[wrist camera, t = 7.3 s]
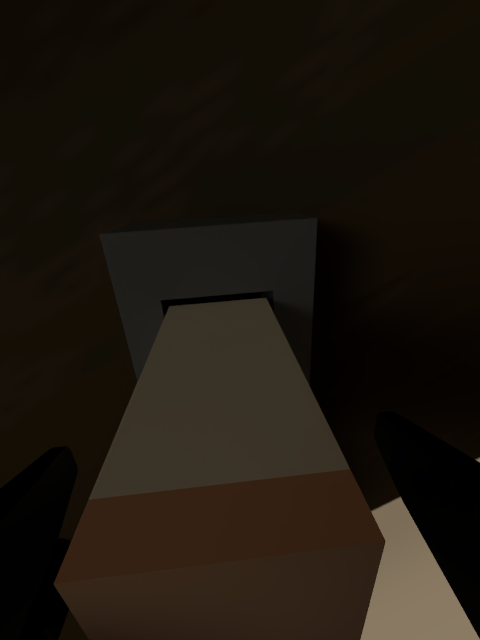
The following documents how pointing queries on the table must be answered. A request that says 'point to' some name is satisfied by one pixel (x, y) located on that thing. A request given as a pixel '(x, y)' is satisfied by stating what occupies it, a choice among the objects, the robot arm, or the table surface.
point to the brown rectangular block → (223, 498)
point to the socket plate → (214, 272)
